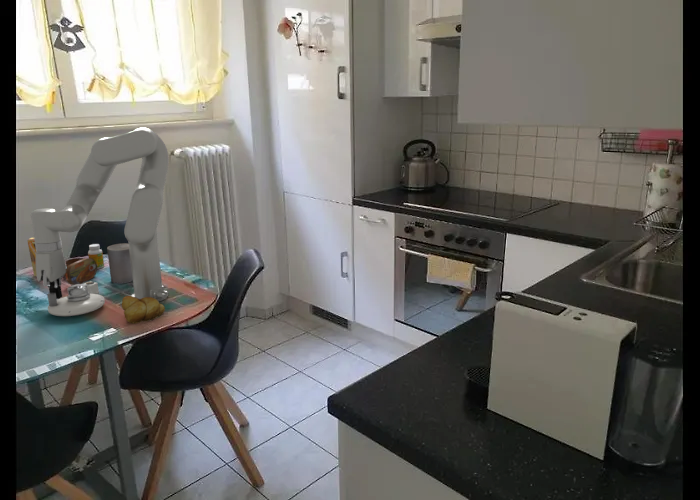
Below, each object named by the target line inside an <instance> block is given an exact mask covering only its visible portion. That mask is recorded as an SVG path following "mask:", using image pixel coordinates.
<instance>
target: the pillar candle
mask: <svg viewBox="0 0 700 500" xmlns="http://www.w3.org/2000/svg"><path fill="white" fill-rule="evenodd" d="M106 251H107V252H106V253H107V257H108V258H107V259H108V265H109V274H110V281H111V282H112V283H113V284H118V285H119V284H129V283H131V282H133V278H132V270H131V262H130V253H129V243H125V242H124V243H116V244H112V245H109V246H107V248H106Z"/></svg>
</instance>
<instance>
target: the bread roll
mask: <svg viewBox="0 0 700 500" xmlns="http://www.w3.org/2000/svg"><path fill="white" fill-rule="evenodd" d="M121 308H122V310H123V315H124V319H125V320H126V322H128V323H130V324H135V325H136V324H139V323H141V322H149V321H150V322H151V321H153V320H155V319H157V318H158V317H160V316H162V315H163V314H164V313H165V311H166V307H165V305H163V304H162V303H160V301H159V302H158V301H157V300H156V299H154V298H152V297H144V298H141V299H138V298H135V297H132V296H131V295H126V296H124V297H123V298H122V300H121Z"/></svg>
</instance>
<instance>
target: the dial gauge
mask: <svg viewBox="0 0 700 500" xmlns="http://www.w3.org/2000/svg"><path fill="white" fill-rule="evenodd" d="M83 284H86V285H87V289H88V292H89V293H90V294H98V295H99V293H100V290H99V284H98V282H95V281H91V280H89V281H86V282H84V283H83Z"/></svg>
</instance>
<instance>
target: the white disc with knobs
mask: <svg viewBox="0 0 700 500" xmlns="http://www.w3.org/2000/svg"><path fill="white" fill-rule="evenodd" d="M46 295H47V301H48V305H47V311H48V314H50V315H52V316H57V317H71V316H72V317H73V316H80V315H83V314H89V313H91V312H94V311H96V310H98V309H100V308H101V307H103V306H104V305H105V302H106V301H105V300H106V299H105V297H104V296H103V295H100V294H99V293H98V294H90V298H88V299H86V300H84V301H79V302H70V301H68V299H67V296H64V297H63V296H62V297H61V298H60V299H56V293H50V292H49V293H47V294H46Z"/></svg>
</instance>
